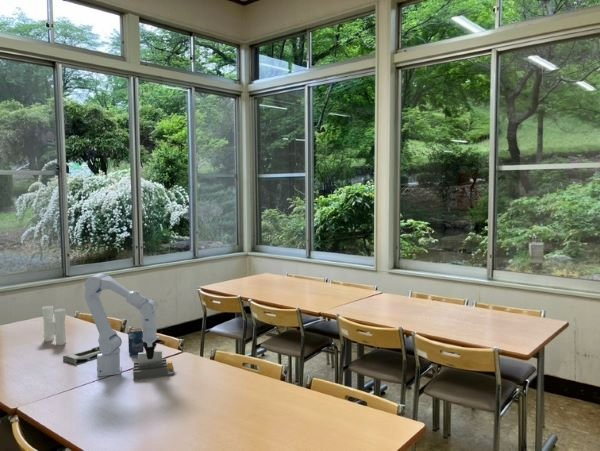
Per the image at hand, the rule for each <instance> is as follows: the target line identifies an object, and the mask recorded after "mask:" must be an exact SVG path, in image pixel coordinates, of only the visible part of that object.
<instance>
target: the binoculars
mask: <svg viewBox="0 0 600 451" xmlns="http://www.w3.org/2000/svg"><path fill="white" fill-rule="evenodd" d="M41 310H42V312H41V313H42V319H43V340H44V342H49V341H51V342H52V341H53V340H54V338H55V345H58V346H61V345H65V344H66V343H67V342H66V341H67V338H66V309H65V308H56V309H54V306H53V305H47V306H46V305H45V306H42V308H41Z"/></svg>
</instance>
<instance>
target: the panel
mask: <svg viewBox="0 0 600 451" xmlns="http://www.w3.org/2000/svg"><path fill="white" fill-rule="evenodd" d="M162 359H163V350H154V355H153V359H148V358H147V354H146V351H143V353H138V356H137V360H138V361H137V362H138V368H139V367H148V366H157V365H162Z"/></svg>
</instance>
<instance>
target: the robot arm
mask: <svg viewBox="0 0 600 451" xmlns="http://www.w3.org/2000/svg"><path fill="white" fill-rule="evenodd" d="M83 286H84V300H85V302H86V304H87V305H86V306H88V309H89V312H90V314H91V317H92V319H93V321H94V322H93V323H94V324H95V327H96V329H97V332H98V334H99V335H98V339H97V342H98V344H99V345H98V346H99V350H100V352H101V353H100V354H97V358H96V371H97V374H96V375H97V377H106V376H107V377H108V376H113V375H120V374H122V366H121V359H120V358H121V356H120V353H121V352H120V351H121V350H119V348H120V347H121V346H122V344H123V342H122V341H123V340H122V338H121V337H120V335H118V333H117V331H116V330H115V329H113V328H112V325H111V323H110V320H109V318H108V315H107V314H106V311H105V309H104V306H103V302H102V301H101V298H100V295H101V294H102V292H103V290H104V291H105V290H110V291H111V292H114V293H116V294H118V295H119V296H121V297H123V298H125V300H126V302H127V303H128V304H129V305H131V306H133V307H134V308H136V309H137V310H139V312H140V314H141V316H142V321H141V322H142V332H143V338H142V340H143V348H144V350H145V352H146V354H147V358H148V359H153V355H154V351H155V350H156V347H157V344H158V343H157V340H159V339H160V336H159V335H158V336H157V312H156V311H157V309H158V303H157V301H156V300H155V299H153V298H150V299H149V297H145V296H144V295H142V294H141V293H140V291H139V290H129V289H128V288H126V287H125V286H123V284H121V283H120V282H118V281H117V280H115V279H114V278H113V277H112V276H110V275H108V274H107V273H104V272H100V273H98V274H95V275H91V276H89V277H88V278H86V280H85V282H84V284H83Z"/></svg>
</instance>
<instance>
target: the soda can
mask: <svg viewBox="0 0 600 451" xmlns="http://www.w3.org/2000/svg"><path fill="white" fill-rule="evenodd" d="M127 335H128V336H127V337H128V341H127V342H128V354H129V355H130V356H132V357H133V356H134V357H135V356H136V357H138V353H143V352H145V351H144V350H145V348H144V347H143V342H144V341H143V340H142V338H143V328H131V329H129V332H128V334H127Z"/></svg>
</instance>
